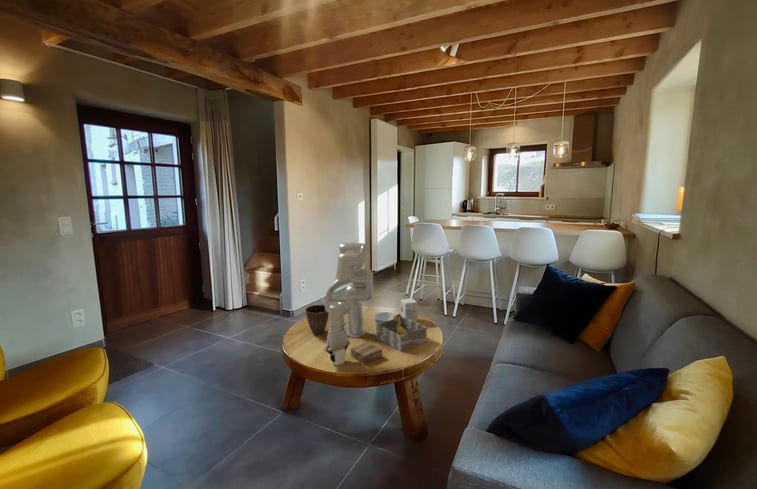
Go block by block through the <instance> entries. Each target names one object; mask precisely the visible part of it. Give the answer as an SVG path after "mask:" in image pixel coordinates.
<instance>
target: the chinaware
mask: <svg viewBox="0 0 757 489" xmlns="http://www.w3.org/2000/svg"><path fill="white" fill-rule="evenodd" d="M395 315H396V313H393V312H387V311H383V312H377V313H375V314H374V315H373V319H374V322H375V323H376V324H378V323H382V322H385V321H388V320H392V319H393V317H394V316H395Z"/></svg>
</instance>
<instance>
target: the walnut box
mask: <svg viewBox="0 0 757 489" xmlns="http://www.w3.org/2000/svg"><path fill="white" fill-rule="evenodd" d="M350 356H351V357H350V358H352V359H354V360H356V361H357V360H358V362H359V363H361V364H362V363H363V365H364V366H366V365H368V364H370V363H372V362H375V361H377V360H379V359H382V358H383V349H381V347H380V348H379V347H378V346H376V345H374V344H372V343H370V342H366V343H362V344H360V345H358V346H355V347H352V348H351V349H350Z"/></svg>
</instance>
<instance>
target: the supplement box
mask: <svg viewBox="0 0 757 489" xmlns="http://www.w3.org/2000/svg"><path fill="white" fill-rule="evenodd" d="M400 315H401V317H405V318H407V319H409V320H411V321H414V322H416V323H418V301H416V300H415V299H414V298H411V297H410V298H405V299H404V298H402V299H400Z"/></svg>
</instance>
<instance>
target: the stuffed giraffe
mask: <svg viewBox="0 0 757 489" xmlns="http://www.w3.org/2000/svg"><path fill="white" fill-rule="evenodd" d="M400 318H401V313H398V314H395V316H394V317H393V321H394V322H396V321H398V323H397V327H396V330H397V331H396V332H394V333H396V334H398V335H403V334H406V333H407V331H406V329H404V328H403V327H402V326H401V319H400Z"/></svg>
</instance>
